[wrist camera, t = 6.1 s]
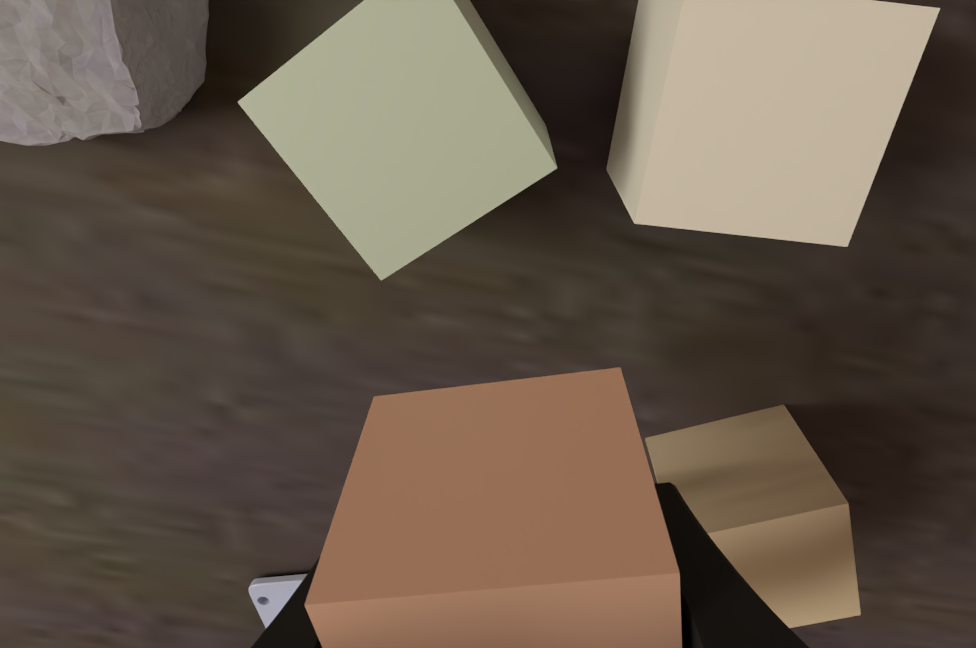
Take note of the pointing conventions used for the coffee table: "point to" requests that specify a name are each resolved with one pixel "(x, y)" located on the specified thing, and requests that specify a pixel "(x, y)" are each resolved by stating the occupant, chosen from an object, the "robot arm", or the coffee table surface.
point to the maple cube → (767, 510)
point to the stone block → (97, 66)
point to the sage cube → (403, 125)
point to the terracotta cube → (500, 524)
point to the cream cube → (761, 112)
